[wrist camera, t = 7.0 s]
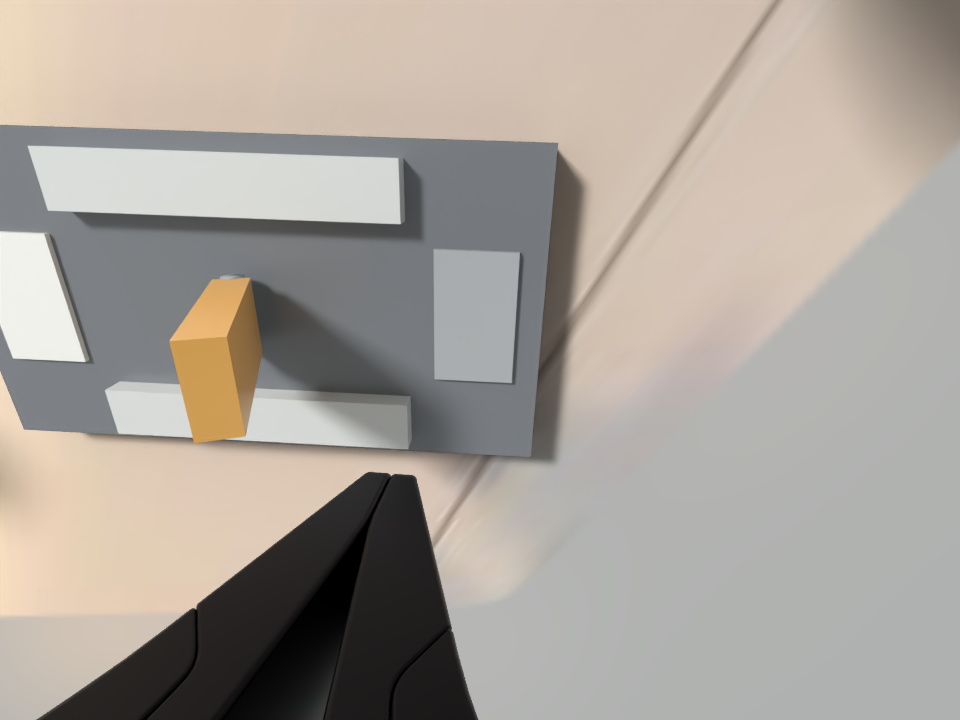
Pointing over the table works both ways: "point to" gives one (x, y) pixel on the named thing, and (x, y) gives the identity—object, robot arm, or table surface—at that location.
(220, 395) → the lever
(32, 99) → the table surface
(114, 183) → the base
